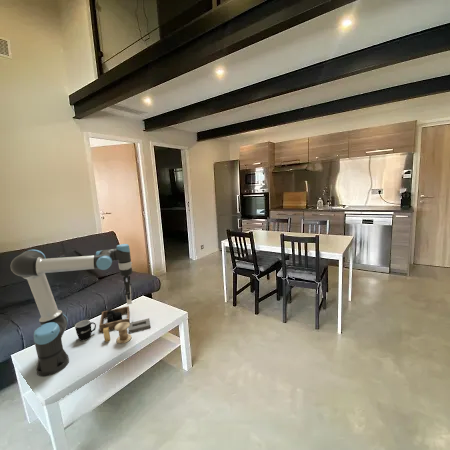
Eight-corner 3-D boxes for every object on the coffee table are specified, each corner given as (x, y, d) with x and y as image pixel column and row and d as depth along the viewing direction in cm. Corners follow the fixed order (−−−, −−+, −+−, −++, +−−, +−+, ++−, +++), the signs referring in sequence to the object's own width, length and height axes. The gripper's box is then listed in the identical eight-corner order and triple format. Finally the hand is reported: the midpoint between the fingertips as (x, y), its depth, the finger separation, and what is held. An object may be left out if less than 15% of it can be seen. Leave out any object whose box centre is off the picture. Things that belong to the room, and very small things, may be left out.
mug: (79, 343, 162) (77, 329, 160) (75, 338, 168) (73, 324, 166) (99, 334, 170) (97, 320, 168) (94, 330, 176) (92, 316, 174)
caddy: (100, 332, 173) (99, 325, 172) (103, 317, 192) (102, 311, 191) (129, 325, 179) (128, 318, 178) (129, 311, 199) (128, 306, 198)
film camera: (122, 325, 180) (120, 313, 179) (107, 328, 177) (105, 316, 175) (122, 315, 194) (120, 304, 193) (108, 318, 191) (106, 307, 189)
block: (104, 342, 161) (103, 330, 160) (105, 339, 164) (103, 328, 163) (110, 340, 162) (108, 329, 161) (110, 338, 165) (108, 327, 164)
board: (129, 333, 169) (128, 330, 169) (129, 325, 179) (128, 323, 178) (150, 327, 174) (150, 325, 174) (149, 320, 183) (149, 318, 183)
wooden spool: (116, 345, 157) (114, 331, 155) (116, 337, 165) (114, 323, 164) (131, 341, 160) (129, 327, 159) (131, 333, 168) (129, 320, 167)
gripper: (132, 273, 151) (136, 306, 155) (131, 262, 174) (135, 291, 178) (118, 275, 149) (122, 309, 152) (119, 263, 172) (123, 293, 175)
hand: (129, 299), depth 165 cm, fingers open, 13 cm apart
